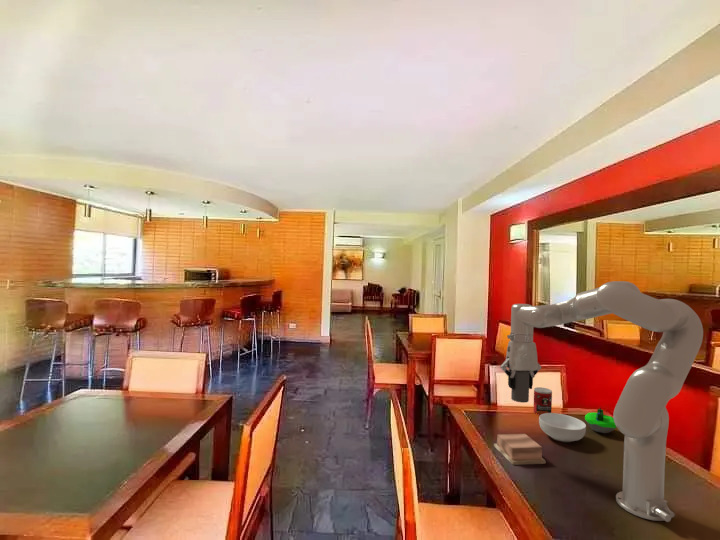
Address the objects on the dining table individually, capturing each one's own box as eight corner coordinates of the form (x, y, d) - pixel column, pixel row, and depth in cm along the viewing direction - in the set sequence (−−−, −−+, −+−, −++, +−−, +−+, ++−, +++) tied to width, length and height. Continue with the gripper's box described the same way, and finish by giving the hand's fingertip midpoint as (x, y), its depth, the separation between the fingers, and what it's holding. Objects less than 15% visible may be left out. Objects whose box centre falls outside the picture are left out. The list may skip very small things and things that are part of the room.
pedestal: (545, 463, 136) (545, 449, 136) (512, 464, 134) (513, 450, 134) (523, 445, 150) (524, 432, 150) (493, 446, 148) (494, 432, 148)
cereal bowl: (565, 450, 146) (566, 431, 146) (529, 433, 161) (529, 416, 161) (595, 443, 153) (596, 425, 153) (558, 426, 168) (558, 410, 168)
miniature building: (617, 440, 156) (618, 413, 156) (583, 432, 163) (585, 406, 162) (616, 429, 167) (617, 404, 166) (584, 422, 173) (586, 398, 172)
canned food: (536, 415, 180) (536, 391, 180) (531, 409, 188) (532, 386, 188) (553, 417, 179) (554, 393, 179) (548, 410, 187) (549, 387, 187)
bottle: (530, 403, 138) (531, 361, 138) (512, 401, 140) (514, 359, 139) (526, 398, 144) (527, 357, 144) (509, 396, 145) (511, 356, 145)
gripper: (504, 340, 137) (502, 391, 137) (550, 340, 139) (548, 390, 139) (494, 336, 144) (492, 385, 144) (538, 336, 146) (536, 384, 147)
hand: (520, 387), depth 142 cm, fingers closed on bottle, 5 cm apart
